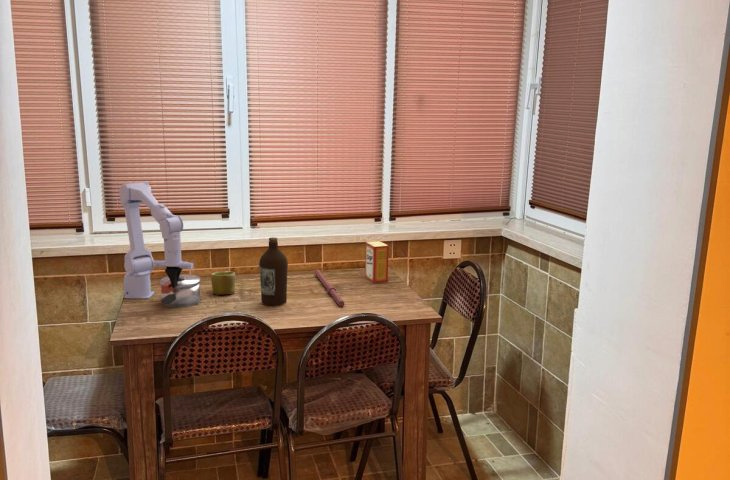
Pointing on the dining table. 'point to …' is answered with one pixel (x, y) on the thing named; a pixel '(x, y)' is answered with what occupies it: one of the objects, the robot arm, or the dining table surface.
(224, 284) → the mug
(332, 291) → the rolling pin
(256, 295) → the dining table surface
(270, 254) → the olive oil
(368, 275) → the baking soda box
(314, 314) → the dining table surface
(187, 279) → the cooker lid
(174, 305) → the silver pot
